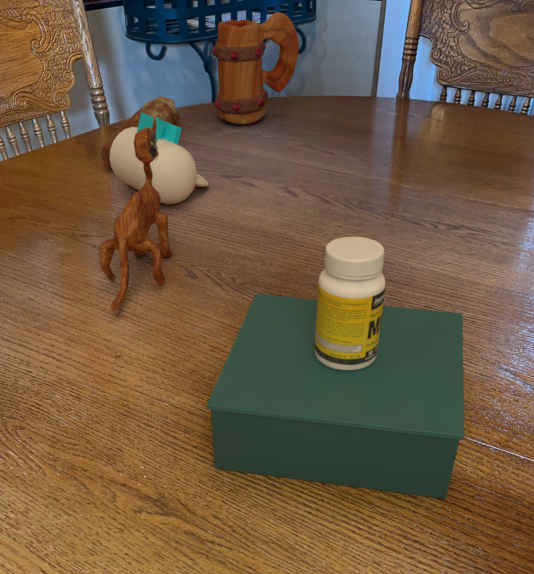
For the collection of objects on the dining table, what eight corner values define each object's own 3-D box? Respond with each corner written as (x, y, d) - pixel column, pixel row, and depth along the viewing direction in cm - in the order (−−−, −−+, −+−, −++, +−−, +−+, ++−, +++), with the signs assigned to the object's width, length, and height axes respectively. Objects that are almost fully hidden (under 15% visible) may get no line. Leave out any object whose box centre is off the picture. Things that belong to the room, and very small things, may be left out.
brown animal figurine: (147, 324, 68) (129, 180, 59) (82, 320, 68) (53, 176, 59) (187, 246, 81) (177, 118, 72) (132, 243, 82) (115, 116, 73)
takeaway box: (450, 374, 61) (463, 313, 57) (449, 501, 50) (465, 436, 45) (255, 353, 64) (255, 293, 60) (210, 470, 52) (205, 404, 48)
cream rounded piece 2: (170, 126, 82) (119, 104, 89) (151, 205, 86) (104, 178, 93) (244, 150, 90) (192, 128, 97) (224, 220, 94) (176, 195, 101)
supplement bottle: (374, 375, 51) (388, 266, 45) (310, 369, 51) (315, 260, 46) (378, 341, 54) (391, 236, 49) (318, 335, 55) (324, 231, 49)
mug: (223, 131, 114) (218, 22, 104) (207, 117, 119) (201, 13, 109) (305, 121, 118) (308, 15, 108) (286, 108, 123) (287, 7, 113)
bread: (183, 135, 112) (180, 97, 108) (128, 175, 99) (122, 133, 95) (147, 131, 113) (143, 93, 110) (88, 170, 100) (81, 128, 96)
